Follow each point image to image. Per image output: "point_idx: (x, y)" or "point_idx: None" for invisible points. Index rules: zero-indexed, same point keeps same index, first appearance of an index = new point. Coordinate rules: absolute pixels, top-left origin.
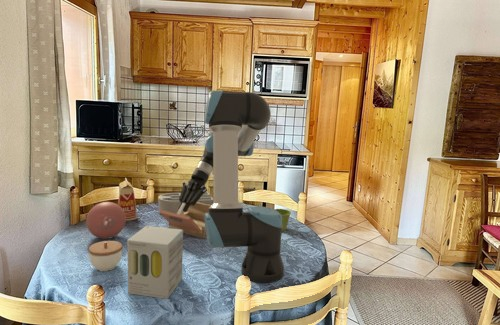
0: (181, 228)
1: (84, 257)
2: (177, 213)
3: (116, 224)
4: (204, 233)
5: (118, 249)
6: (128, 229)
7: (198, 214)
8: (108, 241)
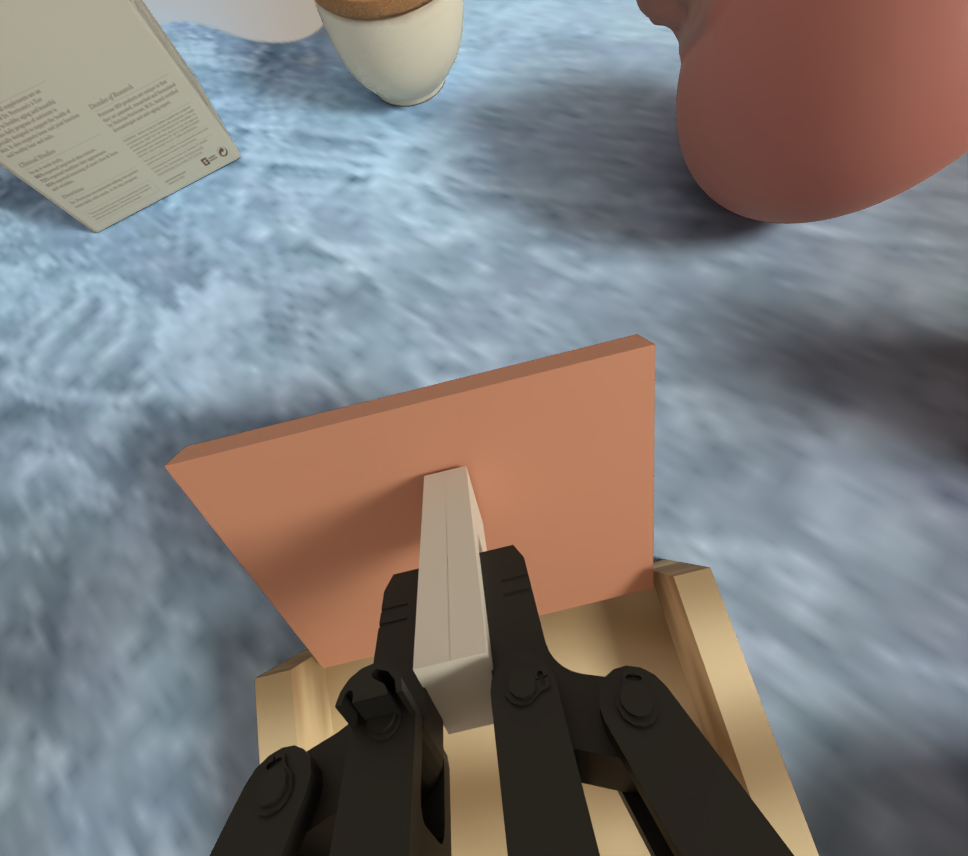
0: None
1: (560, 50)
2: (456, 485)
3: (690, 69)
4: (289, 659)
5: None
6: (827, 329)
7: None
8: None
